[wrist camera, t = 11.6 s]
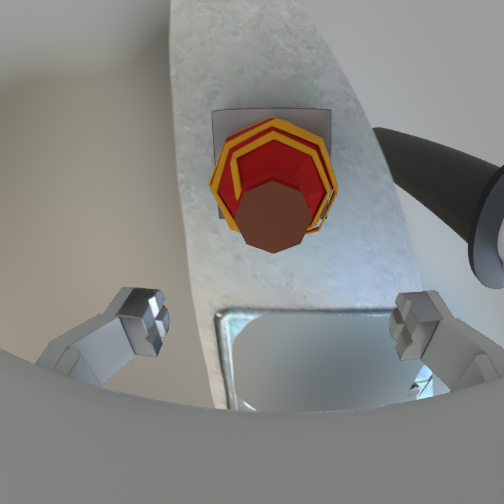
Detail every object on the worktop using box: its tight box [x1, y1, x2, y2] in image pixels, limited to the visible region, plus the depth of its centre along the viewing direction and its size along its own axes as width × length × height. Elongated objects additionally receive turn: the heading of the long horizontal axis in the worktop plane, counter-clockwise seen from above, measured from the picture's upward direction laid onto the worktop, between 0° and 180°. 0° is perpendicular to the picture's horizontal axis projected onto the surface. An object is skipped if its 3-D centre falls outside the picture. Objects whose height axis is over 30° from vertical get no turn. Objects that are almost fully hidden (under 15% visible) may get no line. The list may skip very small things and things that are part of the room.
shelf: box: [212, 108, 331, 219], centre depth 31 cm, size 12×12×7 cm
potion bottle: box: [209, 116, 338, 254], centre depth 21 cm, size 10×10×15 cm
